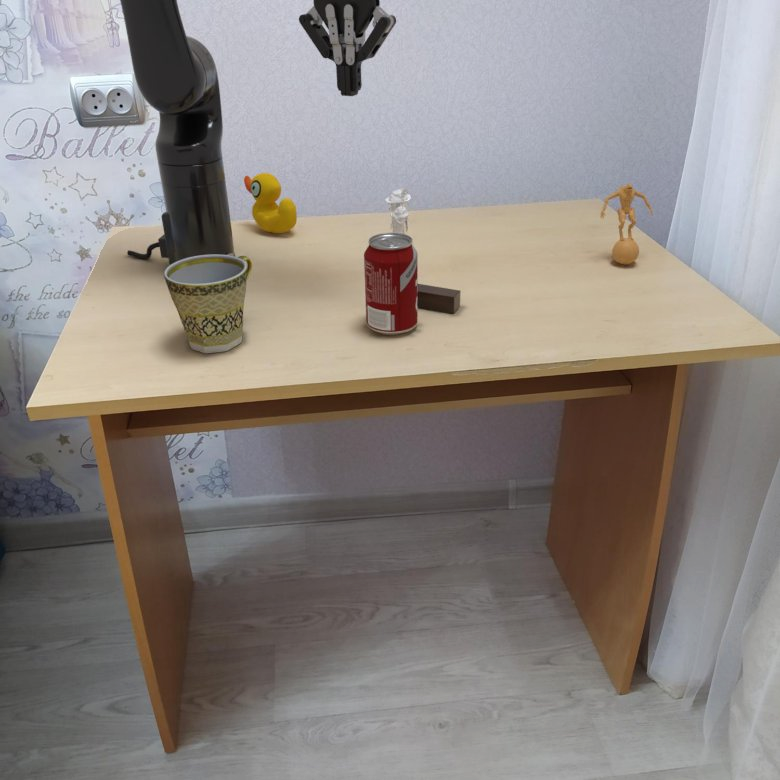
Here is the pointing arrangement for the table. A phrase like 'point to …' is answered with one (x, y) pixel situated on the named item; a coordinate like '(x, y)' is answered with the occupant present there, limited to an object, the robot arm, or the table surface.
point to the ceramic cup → (210, 299)
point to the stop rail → (438, 298)
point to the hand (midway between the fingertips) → (349, 94)
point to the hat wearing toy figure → (399, 210)
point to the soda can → (391, 283)
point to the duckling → (270, 204)
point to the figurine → (624, 248)
